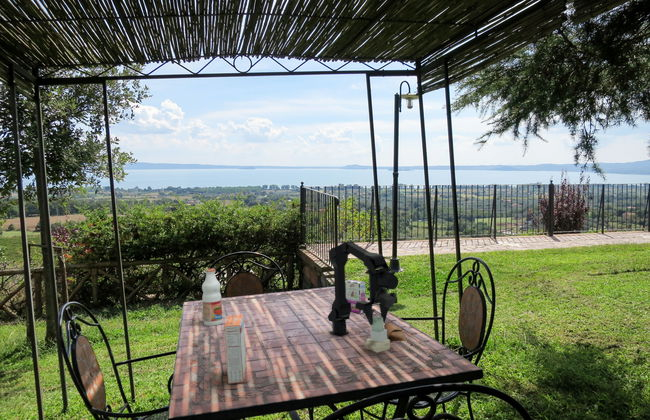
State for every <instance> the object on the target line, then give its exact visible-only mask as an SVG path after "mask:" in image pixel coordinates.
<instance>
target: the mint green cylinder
mask: <svg viewBox="0 0 650 420" xmlns="http://www.w3.org/2000/svg"><path fill="white" fill-rule="evenodd" d="M370 326H371V330H372V331H375V332H380V331H383V329H384V322H383V317H381V316H379V315H377V316H373V325H370Z"/></svg>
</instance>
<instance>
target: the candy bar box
mask: <svg viewBox="0 0 650 420" xmlns="http://www.w3.org/2000/svg"><path fill="white" fill-rule="evenodd" d="M366 284H367V283H366V281H361V280H355V279H349V280H345V285H346V299H347V300H348V302H350V303H351V313H354V314H358V315H362V314H364V312H363V311H362V310H359V309H356V306H355V305H356V303H357V302H359V301H367V290H366V289H367V287H366Z"/></svg>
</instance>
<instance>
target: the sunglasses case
mask: <svg viewBox="0 0 650 420" xmlns="http://www.w3.org/2000/svg"><path fill="white" fill-rule="evenodd" d="M383 329H387V339H389V340H390V342H406V341H408V339H407V338H406V335H405V334H404V330H403V328H402V327H400V326H398V325H395V324H394V323H391V322H386V323H384V324H383Z"/></svg>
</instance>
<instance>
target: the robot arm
mask: <svg viewBox="0 0 650 420" xmlns="http://www.w3.org/2000/svg"><path fill="white" fill-rule="evenodd" d="M350 254H351V255H352V256H353V257H355V258H357V259H358V260H360V261H361V262H362V263H363V265H364V267H366V268H367V270H366V271H365V274H367V275H368V287H366V289H367V290H366V291H368V292H369V297H367V300H366V301H359V302H357V303H356V305H355V306H356V309H359V310H362V311H363V312H364V313H363V314H364V315H365V317H366V320H367V321H368V323H369V325H370V326H371V325H373V317H374V312H375V309H374V308H373V307H374V306H378V305H379V311H380V317H383V323H385V322H386V319H387V316H388V313H389V311H390V309H391V307H393V306H394V305H395V304H398V297H397V293H396V292H389V293H388V292H387V289H389V290H396V288H397V287H398V285H399V279H398V277H397V275H396V274H395V272H394V271H391V268H390V266H389V264H388V263H387V261H386V259H385V256H384V255H382V254H380V253H377V252H372V251H371V252H370V251H368V250H367V249H365V248H363V247H362V246H360V245H359V244H356V243H355V242H354V241H353V240H348V241H343V242H342V243H340V244H339V245H337V246H334V247H332V248H330V249H329V252H328V256H329V262H330V264H331V265H332V267H333V281H334V300H333V302H332V305H331V311H330V312H329V314H328V315H327V320H328V321H329V322H331V326H332V331H330V332H329V334H332V335H333V336H337V337H340V336H343V335H347V334H349V333H350V331H349V330H348V329H347V320H350V318H351V317H350V316H351V313H352V312H351V303H350V302H348V300H347V299H346V285H345V281H346V269H345V268H346V265H347V263H348V261H349V255H350ZM347 330H348V331H347Z"/></svg>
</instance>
